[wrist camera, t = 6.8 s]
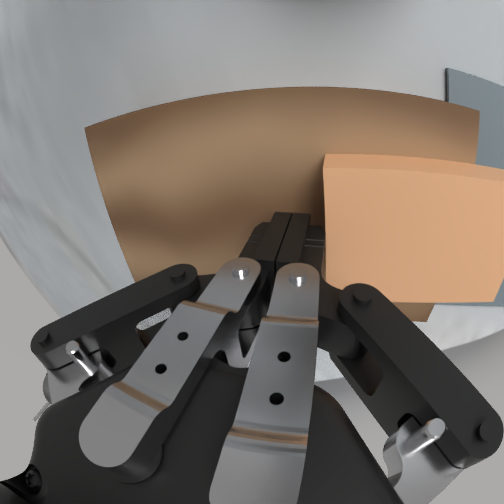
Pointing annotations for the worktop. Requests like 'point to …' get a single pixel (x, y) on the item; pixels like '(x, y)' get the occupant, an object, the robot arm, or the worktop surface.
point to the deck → (252, 165)
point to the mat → (482, 130)
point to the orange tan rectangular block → (414, 227)
